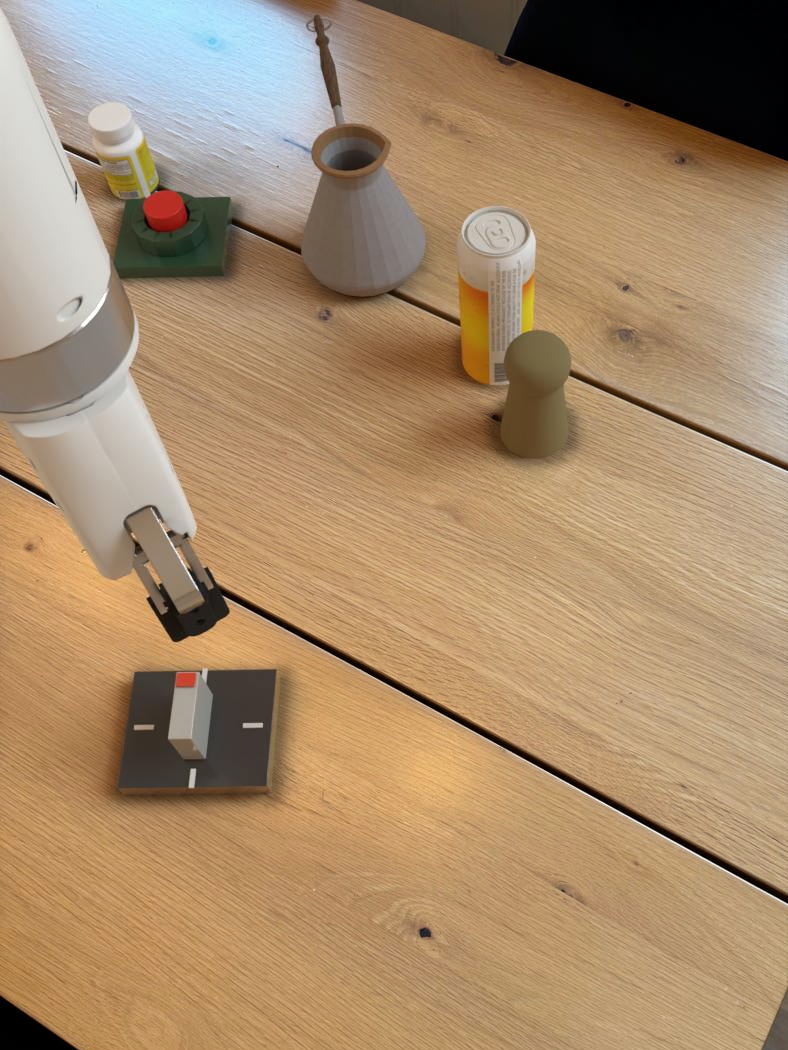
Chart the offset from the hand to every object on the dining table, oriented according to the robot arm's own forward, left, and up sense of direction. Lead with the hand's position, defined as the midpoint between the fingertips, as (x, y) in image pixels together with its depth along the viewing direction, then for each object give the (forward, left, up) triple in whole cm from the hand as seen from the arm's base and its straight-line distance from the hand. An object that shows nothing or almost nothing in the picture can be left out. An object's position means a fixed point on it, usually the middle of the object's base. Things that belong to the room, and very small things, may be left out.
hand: (160, 556), depth 55 cm
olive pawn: (+21, +27, -25) cm, 42 cm away
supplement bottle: (-17, +58, -25) cm, 65 cm away
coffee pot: (+5, +52, -25) cm, 58 cm away
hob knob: (-4, 0, -23) cm, 23 cm away
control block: (-12, +50, -25) cm, 57 cm away
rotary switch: (-4, 0, -25) cm, 25 cm away
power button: (-12, +50, -22) cm, 55 cm away
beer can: (+18, +35, -25) cm, 47 cm away
